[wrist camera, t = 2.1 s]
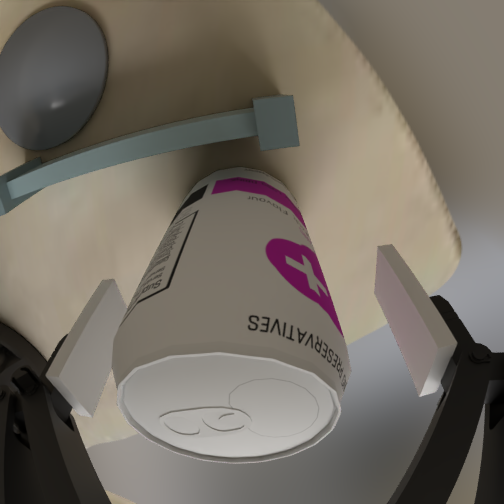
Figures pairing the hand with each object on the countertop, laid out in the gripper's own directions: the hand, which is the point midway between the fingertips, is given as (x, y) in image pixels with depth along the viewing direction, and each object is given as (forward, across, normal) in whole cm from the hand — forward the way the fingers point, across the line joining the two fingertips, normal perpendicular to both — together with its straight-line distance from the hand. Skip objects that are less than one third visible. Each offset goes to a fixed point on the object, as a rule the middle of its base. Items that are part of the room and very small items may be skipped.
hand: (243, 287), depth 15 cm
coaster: (+8, -12, +14) cm, 20 cm away
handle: (+8, -6, +7) cm, 12 cm away
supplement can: (+8, 0, 0) cm, 8 cm away
